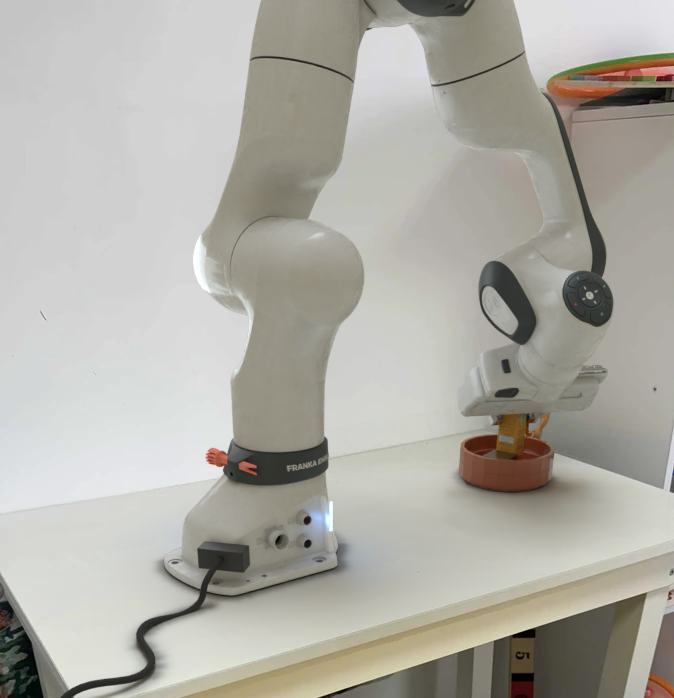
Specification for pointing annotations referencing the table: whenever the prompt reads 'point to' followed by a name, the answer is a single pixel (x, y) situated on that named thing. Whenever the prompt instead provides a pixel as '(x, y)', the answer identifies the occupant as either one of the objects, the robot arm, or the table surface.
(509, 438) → the supplement box
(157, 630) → the table surface
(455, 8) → the robot arm
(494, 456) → the block
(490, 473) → the bowl
